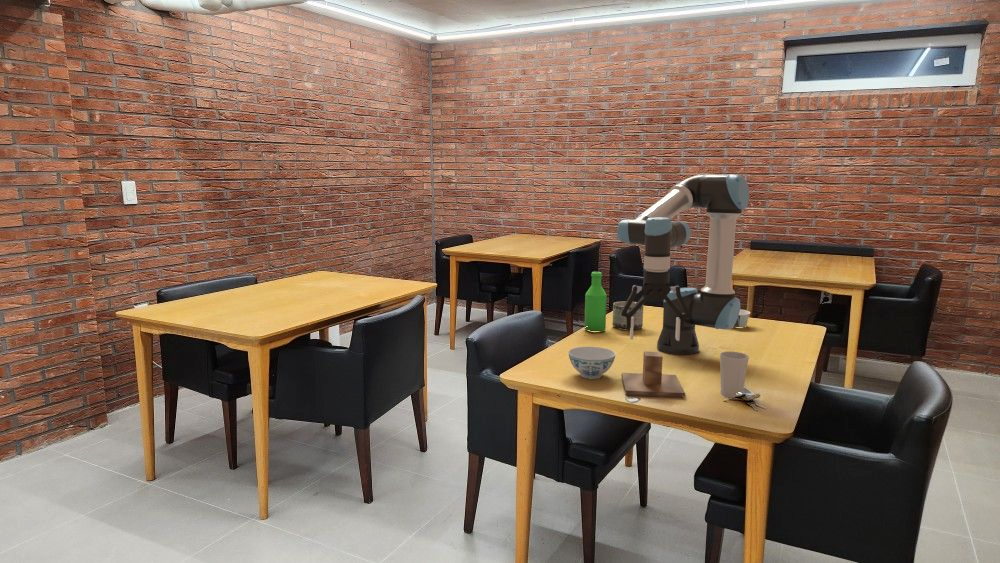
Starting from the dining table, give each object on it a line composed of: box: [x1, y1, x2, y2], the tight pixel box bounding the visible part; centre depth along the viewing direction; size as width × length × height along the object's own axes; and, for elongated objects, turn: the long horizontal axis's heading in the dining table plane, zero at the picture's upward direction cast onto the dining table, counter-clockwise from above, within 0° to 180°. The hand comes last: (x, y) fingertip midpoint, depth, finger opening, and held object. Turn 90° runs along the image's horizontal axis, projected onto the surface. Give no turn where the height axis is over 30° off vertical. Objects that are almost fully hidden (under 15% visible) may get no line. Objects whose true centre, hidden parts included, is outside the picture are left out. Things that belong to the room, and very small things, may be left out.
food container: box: [733, 308, 751, 327], centre depth 267 cm, size 12×12×6 cm
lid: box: [621, 351, 686, 397], centre depth 186 cm, size 17×17×10 cm
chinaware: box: [568, 346, 616, 380], centre depth 198 cm, size 15×15×8 cm
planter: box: [612, 300, 644, 330], centre depth 262 cm, size 13×13×10 cm
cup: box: [719, 350, 750, 399], centre depth 181 cm, size 8×8×12 cm
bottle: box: [584, 271, 608, 332], centre depth 256 cm, size 9×9×25 cm
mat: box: [626, 394, 684, 398], centre depth 187 cm, size 16×16×1 cm
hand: (654, 339), depth 185 cm, fingers open, 13 cm apart
